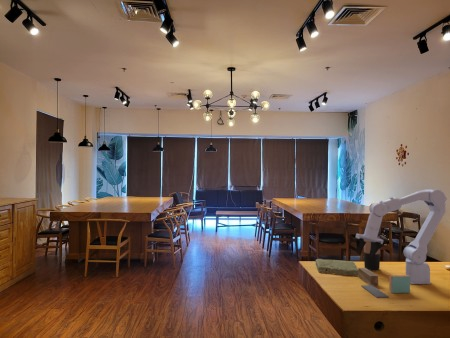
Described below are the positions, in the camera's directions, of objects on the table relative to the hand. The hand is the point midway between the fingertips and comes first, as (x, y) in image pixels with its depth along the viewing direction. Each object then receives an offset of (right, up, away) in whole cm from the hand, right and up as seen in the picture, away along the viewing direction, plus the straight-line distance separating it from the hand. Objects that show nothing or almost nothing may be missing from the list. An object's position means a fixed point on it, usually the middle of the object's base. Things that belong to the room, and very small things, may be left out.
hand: (364, 255), depth 154 cm
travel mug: (+11, -12, +17) cm, 23 cm away
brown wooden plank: (0, -12, -2) cm, 12 cm away
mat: (-3, -11, -16) cm, 20 cm away
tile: (+8, -11, -17) cm, 21 cm away
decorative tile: (-8, -12, +16) cm, 21 cm away
